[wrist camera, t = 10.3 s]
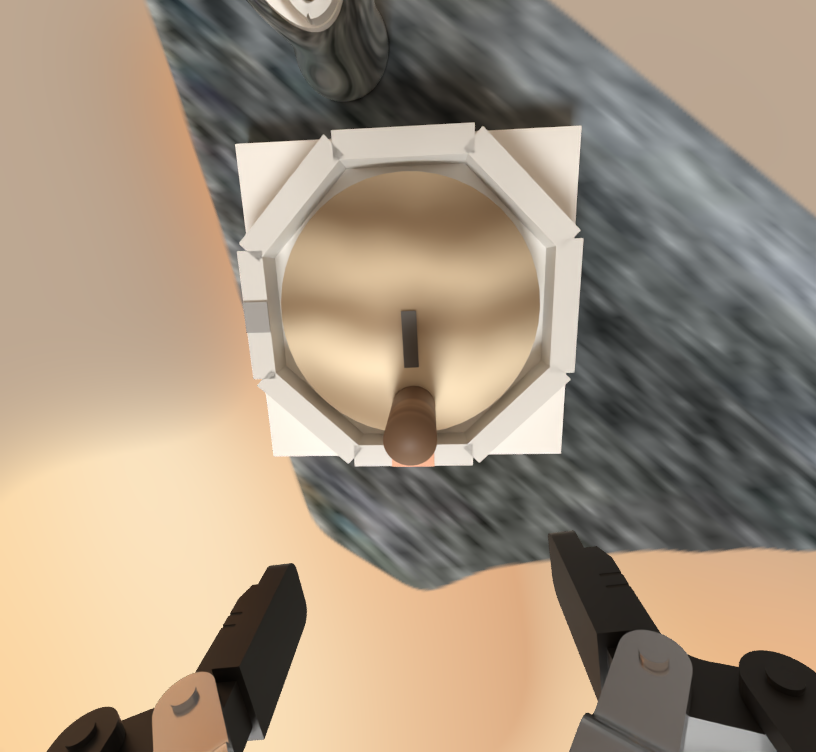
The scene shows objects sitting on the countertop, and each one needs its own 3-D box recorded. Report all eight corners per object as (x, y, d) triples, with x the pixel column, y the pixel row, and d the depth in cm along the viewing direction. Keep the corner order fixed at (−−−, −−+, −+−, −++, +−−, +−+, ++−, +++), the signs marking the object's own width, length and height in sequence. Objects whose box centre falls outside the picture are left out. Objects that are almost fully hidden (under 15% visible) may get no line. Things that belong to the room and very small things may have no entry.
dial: (273, 186, 27) (214, 153, 19) (536, 167, 26) (580, 125, 18) (303, 429, 31) (264, 477, 23) (532, 421, 30) (565, 469, 22)
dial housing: (570, 136, 27) (596, 110, 23) (552, 442, 32) (571, 467, 28) (248, 152, 28) (216, 131, 24) (282, 445, 34) (261, 470, 29)
